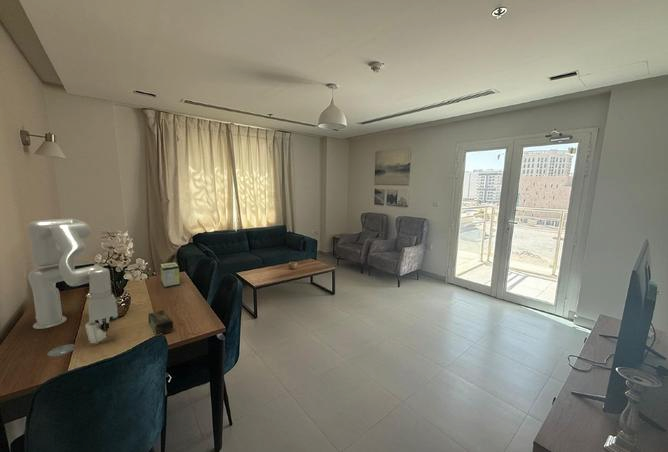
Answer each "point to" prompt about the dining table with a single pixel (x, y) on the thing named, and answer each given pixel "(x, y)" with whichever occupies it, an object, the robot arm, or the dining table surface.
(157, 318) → the beverage carton
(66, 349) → the coaster
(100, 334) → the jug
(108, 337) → the post
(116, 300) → the canned tomato
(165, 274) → the protein box
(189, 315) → the dining table surface
